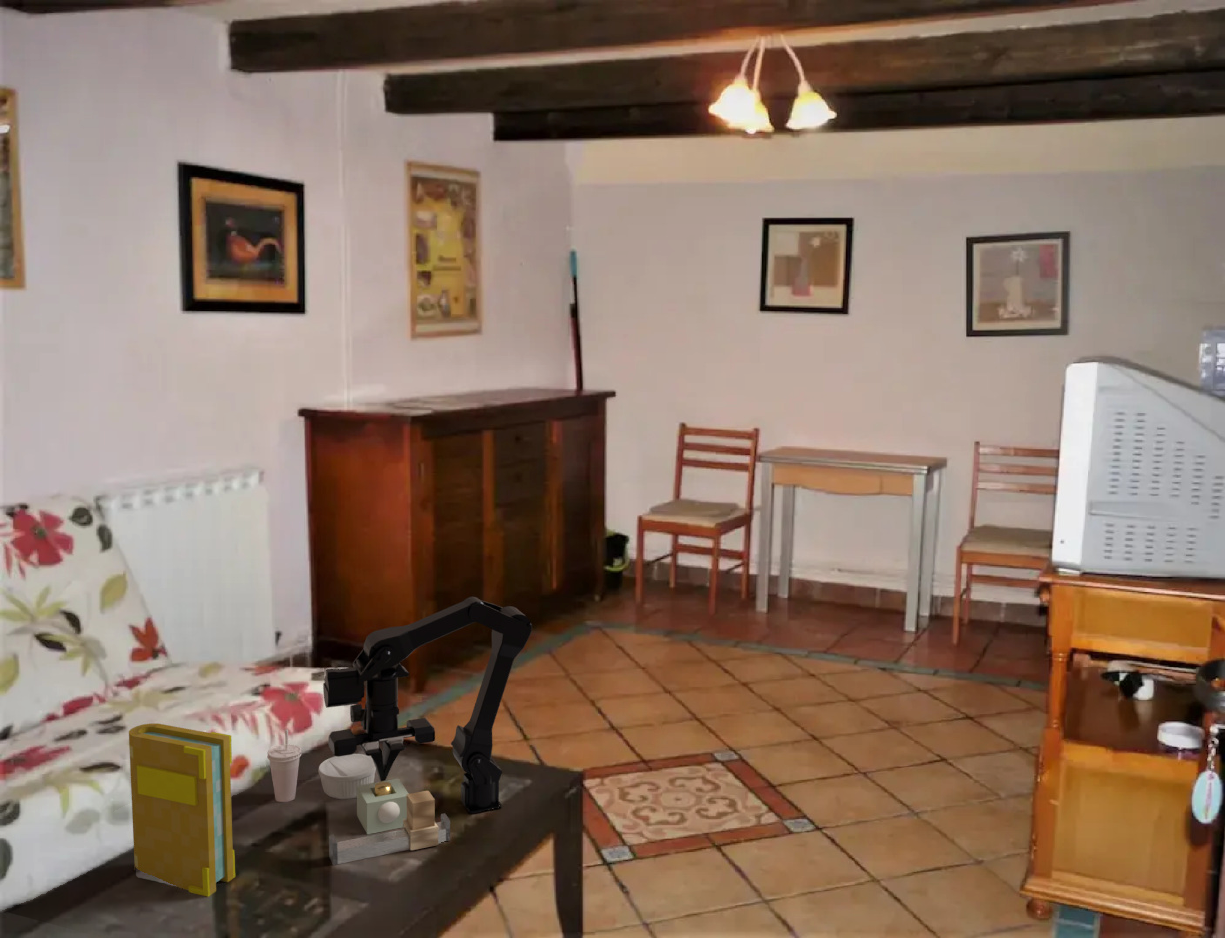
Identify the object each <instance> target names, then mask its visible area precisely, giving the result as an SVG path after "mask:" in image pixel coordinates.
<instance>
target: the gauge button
mask: <svg viewBox="0 0 1225 938" xmlns="http://www.w3.org/2000/svg"><path fill="white" fill-rule="evenodd" d="M378 782H379V783H377V784H375V797H378V796H383V795H389V794H391V783H389V782H381V781H378Z"/></svg>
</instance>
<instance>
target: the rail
mask: <svg viewBox="0 0 1225 938" xmlns="http://www.w3.org/2000/svg"><path fill="white" fill-rule="evenodd" d="M435 823H436V824H437V825H438V845H439V844H442V843H441V842H444V841H449V840H450V841H451V819H450V817H448V816H447V814H446V813H445V812H444V813H441V814H440V821H439V822H435ZM450 841H449V842H450ZM444 843H445V842H444ZM409 850H410V835H409V833H408V832H407V830H406V829H403V828H401V829H396V830H392V831H389V832H388V831H386V832H382V833H377V834H372V835H371V834H370V835H367V836H362V837H357V838H353V839H347V840H342V841H341V840H340V841H337V839H336V836H335V835H334V834H331V835H328V853H329V854H328V855H329V859H330V861H331V864H332V866H337V865H340V864H341V865H342V864H345V863H352V862H355V861H360V860H366V859H370V858H375V857H380V856H383V855H390V854H393V853H400V852H404V851H409ZM410 851H411V850H410Z"/></svg>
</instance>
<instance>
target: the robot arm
mask: <svg viewBox="0 0 1225 938" xmlns="http://www.w3.org/2000/svg"><path fill="white" fill-rule="evenodd" d="M474 623H478V624H481V625H482V626H484V627H487V628H489V629H491V653H490V655H489V659H488V662H487V665H486V669H485V671H484V675H483V678H482V681H481V684H480V687H479V691H478V694H477V696H476V700H475V703H474V707H473V708H472V709H473V710H472V712H471V717H470V719H469V720H468V721H467V723H466V724H465V725H464V726H461V725H459V724H458V725H456V729H455V734H454V738H453V740H452V741H451V742H450V745H451V747H452V755H453V756H454V759H455V760H456V761H457V763H458V764H459V765H460V767H461V768H462V770H463V771H464V773H463V781H461V782H460V802H461V804H462V805H463V806H464V807H465V808H466V810H467V811H468V812H469V813H470V814H478V813H482V812H481V811H483V812H485V811H484V810H488V809H492V808H498V807H502V808H503V804H502V803H501V802H500V780H501V776H502V775H503V770H502V769H501V767H500V766H499V765H498V763H497V762H496V761H495V760H494V758H493V757H492V753H493V729H494V728H493V727H494V724H495V721H496V719H497V718H496V717H497V715H498V711H499V707H500V705H501V702H502V698H503V695H504V692H505V690H506V686H507V683H508V680H509V677H510V674H511V670H512V667H513V663H514V661H515V659H516V658H517V657H518V656H519V654H520V653H521V652H522V651H523V650H524V648H525V647H526V646H527V645H526V644H527V642H528V641H529V639H530V637H531V634H532V631H533V624H532V621H530V618H529V617H527V616H526V614H524V613H523V612H521V610H519V609H518V608H517V607H515V606H511V605H509V606H508V605H507V606H504V607H502V606H500V605H497V604H495V603H492V602H488V601H484V600H481V599H479V598H478V597H476V596H469V597H467V598H465V599H464V600H463V601H461V602H458V603H455V604H454V605H452V606H449V607H447V608H445V609H443V610H440V611H437V612H435V613H432V614H430V615H428V616H426V617H423V618H421V619H419V620H417V621H414V622H412V623H410V624H409V623H408V624H406V625H402V626H398V625H397V626H390V627H386V628H382V629H378V630H374V631H373V632H371V633H369V634H368V635H367V636H366V638H365V641H364V643H363V648H362V650H361V651H360V652H359V653H358V655H357V657H355V659H354V661H353V662H352V666H353V667H344V668H327V669H325V676H324V682H323V684H322V686H323V687H322V689H323V690H322V691H323V700H324V701H323V702H324V705H325V708H327V709H329V708H334V707H345V706H350V708H349V711H350V712H349V716H350V722H351V723H358V722H360V726H361V727H362V729H363V731H365V733H358V734H354V733H353V731H352V729H350V728H348V729H341V730H334V731H331V732H330V734H329V735H328V747H329V749H330V751H331V752H332V754H333V757H335V756H337V757H339V756H346V755H352V754H355V752H356V751H357V750H358V747H357V746H359V747H360V748H361V750H362V751H363V753H364V755H366V756H370V757H372V759H373V762H374V765H375V767H376V772H377V775H378V779H379V780H380V781H379V782H381V781H387V778H388V775H389V774H390V771H391V769H392V767H393V765H394V762H395V761H396V759H397V758H398V756H399V754H400V752H402V751H403V752H404V751H405V750H406V746H405V744H404V739H406V738H407V739H408V738H414V740H415V741H416V742H417V743H418V744H420V745H421V744H427V743H433V742H434V741H435V740H436V730H435V727H434V726H433V724H432V723H431V722H430V721H429V720H428V719H427V718H425V717H423V718H422V717H420V718H414V719H409V720H407V721H406V726H404V727H399V715H400V709H399V693H398V692H399V691H398V690H399V686H398V685H399V681H398V680H399V678H405V677H406V678H407V677H409V675H410V673H409V671H408V670H407V669H406V667H404V666H403V665H402V664H401V663H402V661H404V660H405V659H407V658H408V657H409V656H410V655H411V654H413V652H415V650H417V649H418V648H420V647H421V646H424V645H427V644H429V643H431V642H433V641H436V640H438V639H440V638H443V637H445V636H447V635H449V634H452V633H454V632H456V631H458V630H460V629H463V628H465V627H467V626H470V625H472V624H474ZM364 697H365V699H366V700H365V704H364V708H363V706H362V704H361V703H359V702H362V700H363V698H364ZM380 742H381V743H382V749H381V747H380ZM499 805H500V806H499ZM498 809H499V808H498ZM488 811H489V810H488Z"/></svg>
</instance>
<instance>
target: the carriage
mask: <svg viewBox="0 0 1225 938" xmlns="http://www.w3.org/2000/svg"><path fill="white" fill-rule="evenodd" d="M435 804H436V799H435V797H433V795H432V794H431V792H430V791H429V790H423V791H418V792H412V793H409V794H407V819H403V827H402V829H406V830H407V832H408V833H409V835H410V851H415V850H419V849H424V848H425V849H426V848H429V847H435V846H438V845H439V844H438V825H437V824H436V823H437V822H436V817H435V816H436V815H435V813H436V812H435V809H436V806H435Z"/></svg>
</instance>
